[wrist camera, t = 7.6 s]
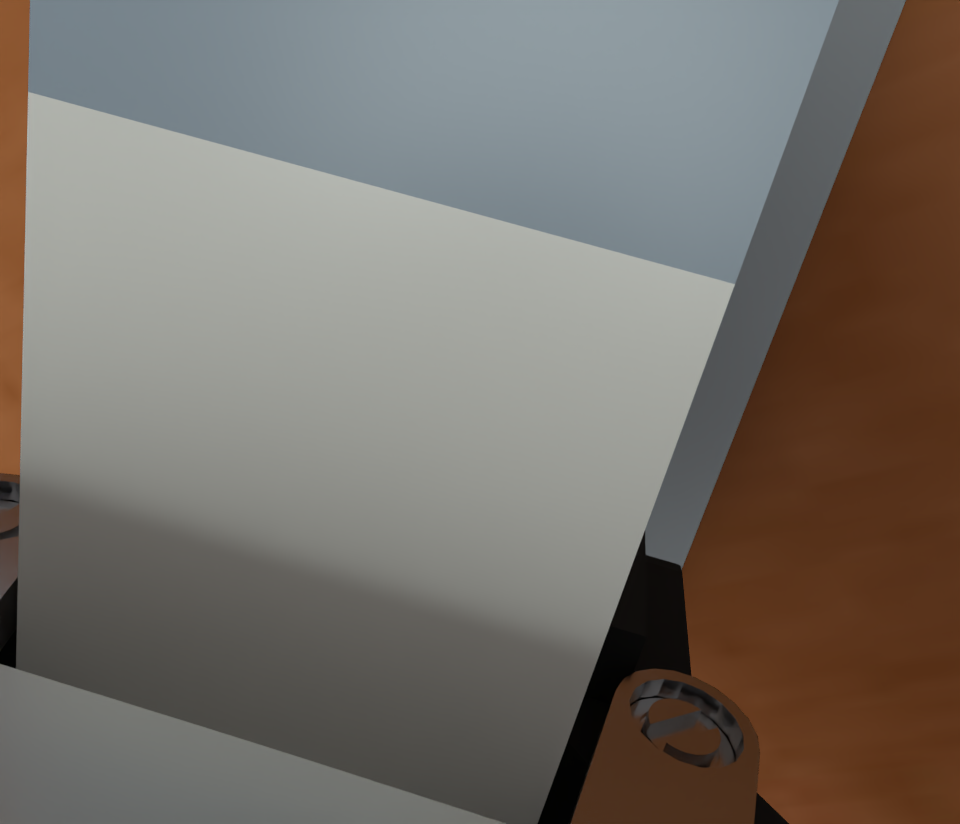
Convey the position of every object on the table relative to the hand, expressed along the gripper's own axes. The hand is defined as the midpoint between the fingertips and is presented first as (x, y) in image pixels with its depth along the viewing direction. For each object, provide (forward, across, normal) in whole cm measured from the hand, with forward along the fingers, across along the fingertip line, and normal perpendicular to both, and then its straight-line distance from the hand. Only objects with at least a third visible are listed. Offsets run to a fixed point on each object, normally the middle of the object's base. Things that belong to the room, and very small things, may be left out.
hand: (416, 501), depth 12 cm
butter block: (0, 0, 0) cm, 1 cm away
